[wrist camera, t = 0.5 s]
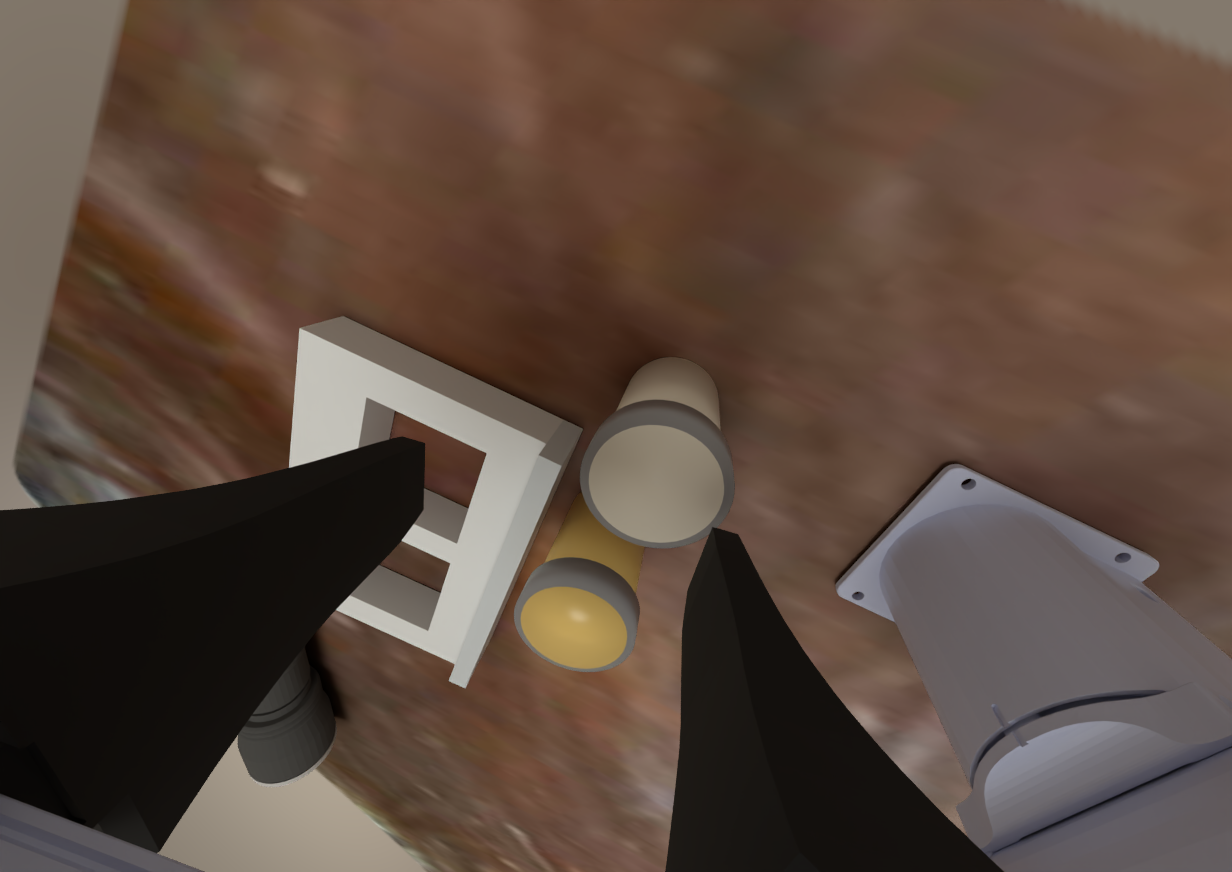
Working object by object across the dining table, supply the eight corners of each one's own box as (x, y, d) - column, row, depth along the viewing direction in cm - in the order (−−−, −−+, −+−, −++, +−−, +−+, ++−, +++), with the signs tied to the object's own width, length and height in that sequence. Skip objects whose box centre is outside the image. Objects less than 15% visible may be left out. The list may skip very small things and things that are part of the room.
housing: (583, 429, 21) (561, 465, 18) (491, 636, 28) (465, 688, 25) (343, 316, 21) (279, 333, 18) (313, 555, 28) (265, 597, 25)
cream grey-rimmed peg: (746, 379, 19) (766, 460, 13) (694, 466, 21) (688, 572, 15) (645, 330, 19) (614, 389, 12) (602, 422, 21) (558, 511, 15)
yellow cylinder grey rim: (671, 504, 22) (656, 618, 16) (632, 568, 24) (606, 690, 18) (584, 463, 22) (534, 562, 16) (552, 531, 24) (498, 641, 18)
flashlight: (240, 553, 30) (151, 618, 25) (316, 570, 29) (239, 640, 24) (290, 703, 37) (227, 776, 32) (352, 719, 36) (298, 796, 31)
